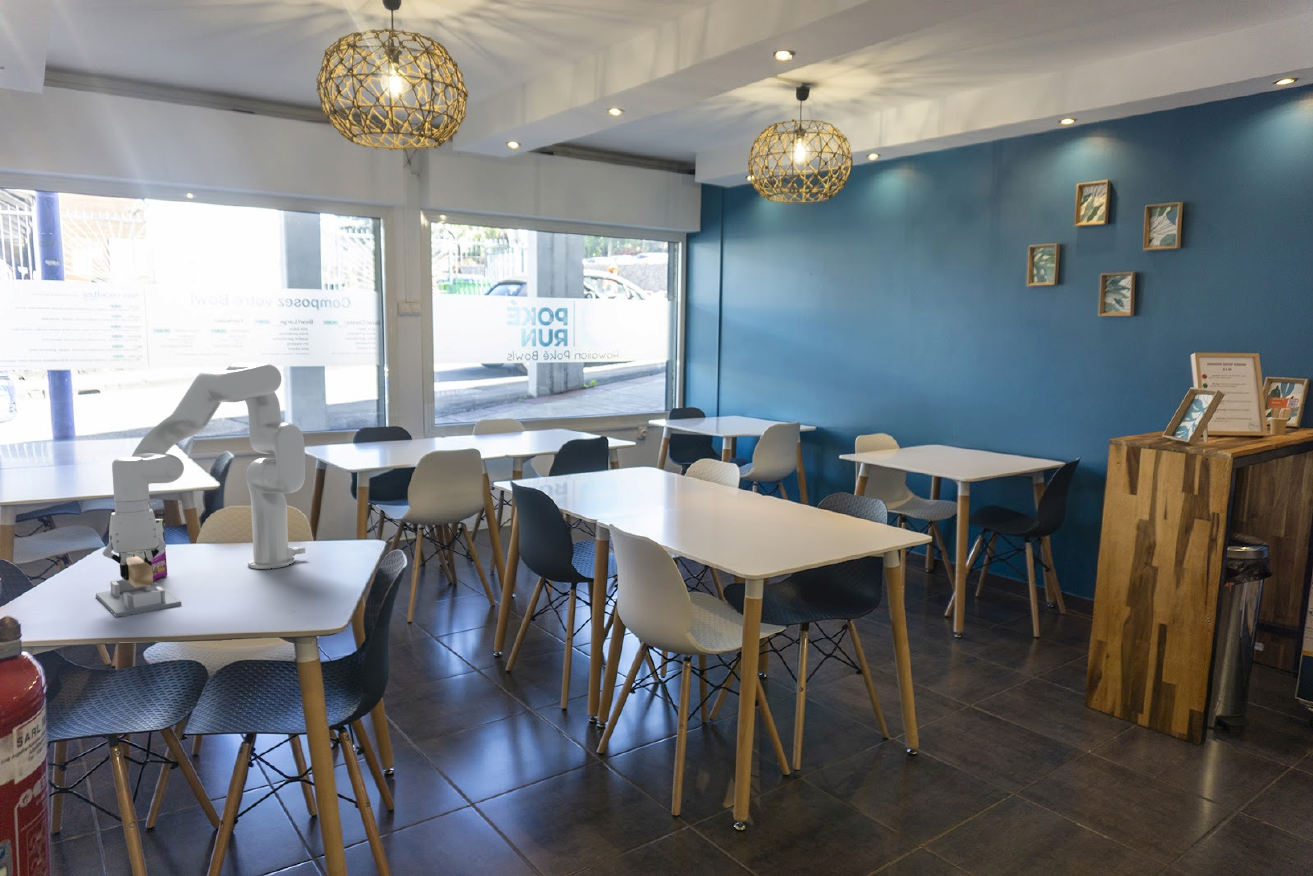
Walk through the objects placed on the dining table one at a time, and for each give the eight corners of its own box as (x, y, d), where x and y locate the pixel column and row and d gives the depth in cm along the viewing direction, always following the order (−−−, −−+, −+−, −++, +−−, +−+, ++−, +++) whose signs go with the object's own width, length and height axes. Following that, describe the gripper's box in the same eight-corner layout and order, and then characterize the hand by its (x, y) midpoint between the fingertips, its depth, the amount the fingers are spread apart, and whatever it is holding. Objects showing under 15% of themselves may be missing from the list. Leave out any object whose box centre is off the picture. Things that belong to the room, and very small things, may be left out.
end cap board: (157, 586, 230) (156, 571, 230) (181, 605, 214) (180, 589, 214) (96, 597, 220) (95, 581, 220) (116, 617, 205) (115, 601, 204)
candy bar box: (152, 575, 241) (149, 517, 239) (168, 576, 240) (164, 518, 238) (120, 586, 230) (116, 526, 228) (136, 587, 229) (132, 527, 227)
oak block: (138, 573, 223) (137, 556, 223) (153, 584, 213) (152, 566, 213) (120, 575, 220) (119, 558, 220) (134, 587, 210) (133, 569, 210)
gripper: (165, 500, 223) (169, 568, 225) (89, 508, 212) (94, 580, 214) (173, 504, 218) (177, 574, 220) (96, 513, 206) (101, 587, 208)
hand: (136, 576), depth 217 cm, fingers closed on oak block, 4 cm apart
